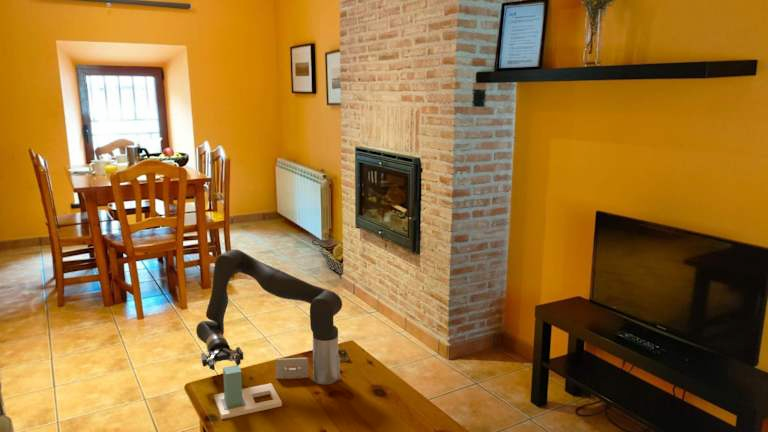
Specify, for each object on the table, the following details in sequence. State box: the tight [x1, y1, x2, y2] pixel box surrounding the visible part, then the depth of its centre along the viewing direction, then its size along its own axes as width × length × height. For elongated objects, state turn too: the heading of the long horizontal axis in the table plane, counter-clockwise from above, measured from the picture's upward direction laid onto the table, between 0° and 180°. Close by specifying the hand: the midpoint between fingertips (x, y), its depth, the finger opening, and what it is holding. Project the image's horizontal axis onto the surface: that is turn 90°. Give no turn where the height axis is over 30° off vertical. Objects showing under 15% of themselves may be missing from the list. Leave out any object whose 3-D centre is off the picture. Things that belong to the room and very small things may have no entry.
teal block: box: [222, 364, 243, 407], centre depth 193 cm, size 5×5×12 cm
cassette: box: [275, 357, 309, 380], centre depth 215 cm, size 12×2×8 cm, turn 97°
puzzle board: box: [213, 382, 283, 420], centre depth 198 cm, size 20×14×2 cm
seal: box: [338, 348, 350, 363], centre depth 232 cm, size 9×5×15 cm
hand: (226, 365), depth 202 cm, fingers open, 8 cm apart
